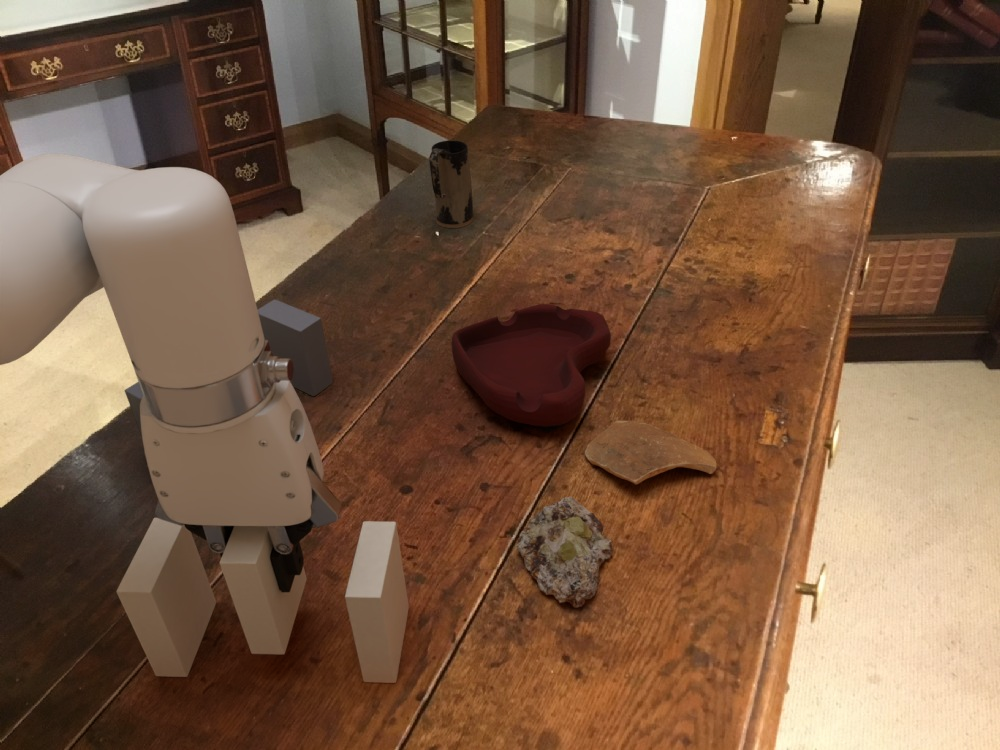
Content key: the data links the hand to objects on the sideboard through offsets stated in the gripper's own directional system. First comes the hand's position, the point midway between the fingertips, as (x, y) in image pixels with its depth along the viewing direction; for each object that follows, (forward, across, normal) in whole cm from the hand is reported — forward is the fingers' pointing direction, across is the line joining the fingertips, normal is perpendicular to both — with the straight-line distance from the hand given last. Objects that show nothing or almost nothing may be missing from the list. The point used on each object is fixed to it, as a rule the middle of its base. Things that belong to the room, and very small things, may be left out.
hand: (268, 575), depth 62 cm
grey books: (+8, +12, -27) cm, 30 cm away
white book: (+5, 0, 0) cm, 5 cm away
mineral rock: (+8, -22, -9) cm, 25 cm away
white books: (+8, 0, 0) cm, 8 cm away
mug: (+8, -6, -72) cm, 72 cm away
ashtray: (+8, -18, -34) cm, 39 cm away
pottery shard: (+8, -30, -21) cm, 38 cm away
